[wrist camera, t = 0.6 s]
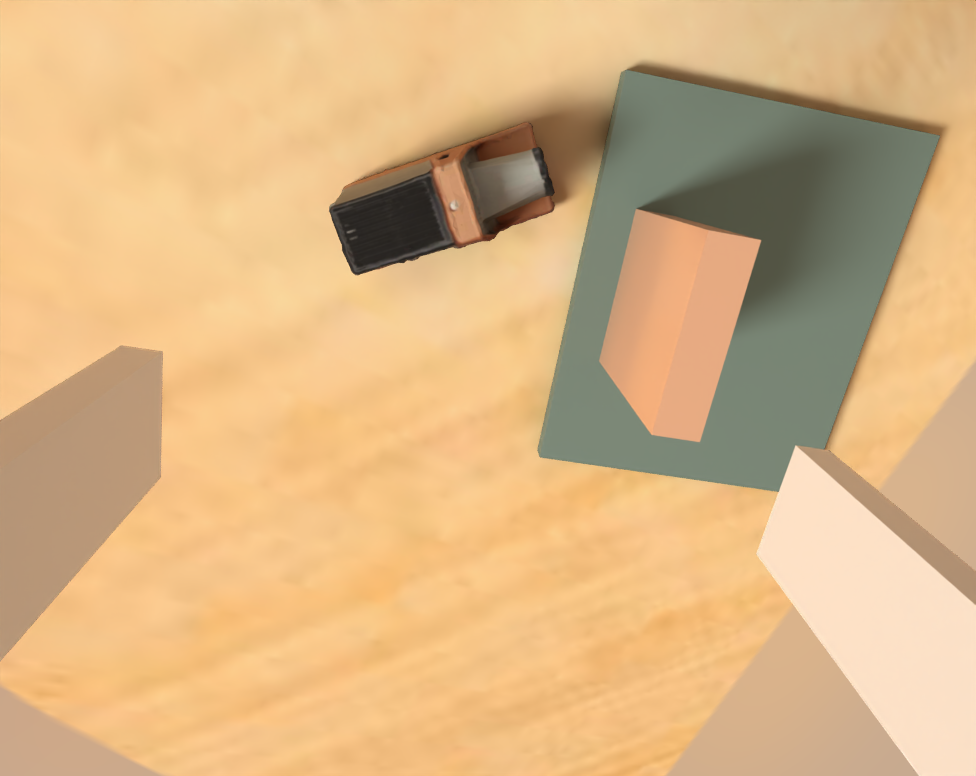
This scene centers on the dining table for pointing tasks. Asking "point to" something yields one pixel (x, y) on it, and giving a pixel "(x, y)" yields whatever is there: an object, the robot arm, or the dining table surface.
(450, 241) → the electronic device
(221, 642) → the dining table surface
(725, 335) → the tile
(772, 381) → the mat
